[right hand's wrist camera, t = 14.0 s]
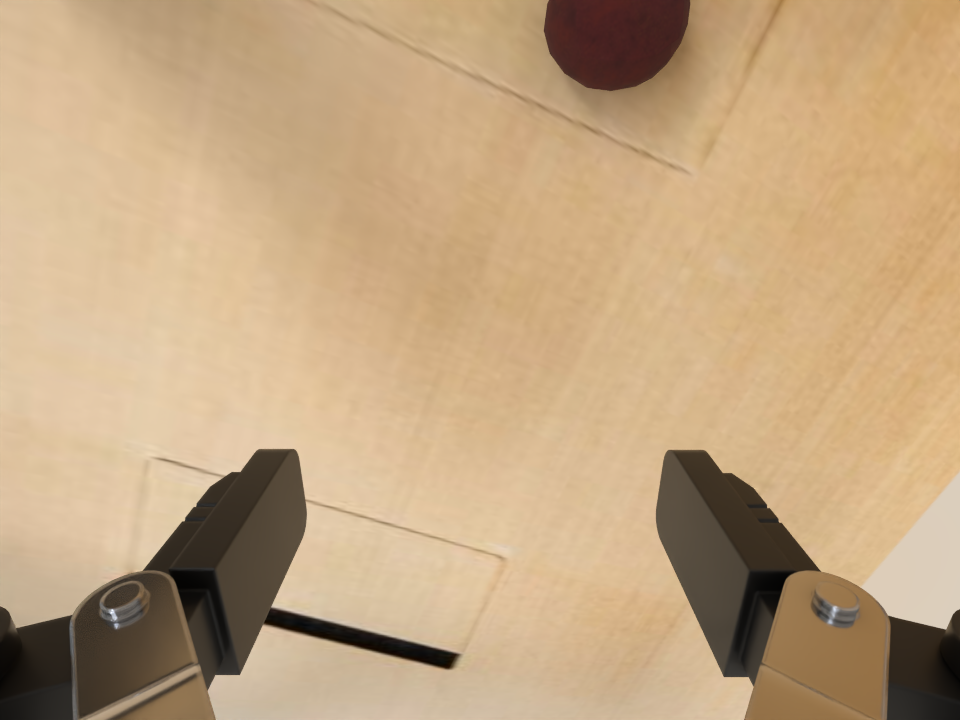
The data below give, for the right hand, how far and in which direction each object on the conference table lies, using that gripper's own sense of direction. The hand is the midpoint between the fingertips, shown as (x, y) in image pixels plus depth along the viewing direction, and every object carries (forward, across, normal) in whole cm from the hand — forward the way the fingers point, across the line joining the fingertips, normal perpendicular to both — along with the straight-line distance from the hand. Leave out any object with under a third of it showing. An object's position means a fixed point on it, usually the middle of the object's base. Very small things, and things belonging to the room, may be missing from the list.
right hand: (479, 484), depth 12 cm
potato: (+28, -8, -14) cm, 32 cm away
